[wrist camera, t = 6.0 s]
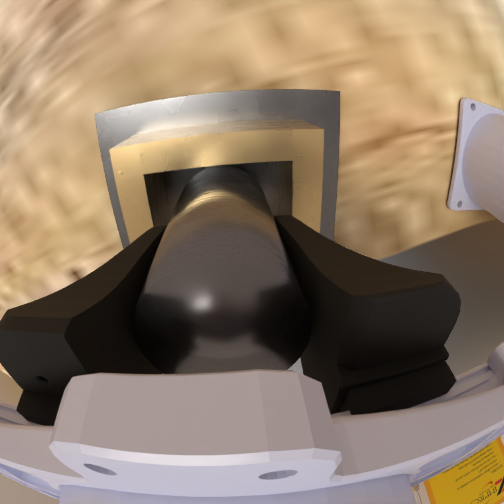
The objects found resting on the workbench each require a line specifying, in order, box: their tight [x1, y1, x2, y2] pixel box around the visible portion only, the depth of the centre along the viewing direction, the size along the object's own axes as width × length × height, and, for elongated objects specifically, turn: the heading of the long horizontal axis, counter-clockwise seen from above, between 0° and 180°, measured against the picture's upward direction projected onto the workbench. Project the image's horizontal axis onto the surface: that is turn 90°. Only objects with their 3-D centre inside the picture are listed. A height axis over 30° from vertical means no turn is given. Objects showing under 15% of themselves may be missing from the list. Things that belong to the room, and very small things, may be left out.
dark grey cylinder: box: [133, 166, 312, 374], centre depth 10 cm, size 4×4×8 cm
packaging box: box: [413, 436, 504, 504], centre depth 32 cm, size 16×16×25 cm
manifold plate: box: [95, 89, 340, 249], centre depth 16 cm, size 12×18×4 cm, turn 3°
